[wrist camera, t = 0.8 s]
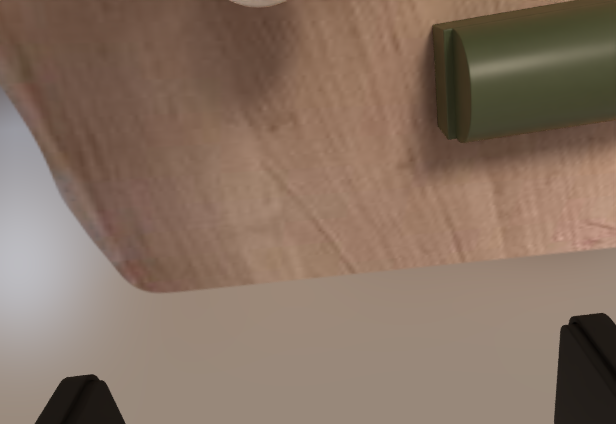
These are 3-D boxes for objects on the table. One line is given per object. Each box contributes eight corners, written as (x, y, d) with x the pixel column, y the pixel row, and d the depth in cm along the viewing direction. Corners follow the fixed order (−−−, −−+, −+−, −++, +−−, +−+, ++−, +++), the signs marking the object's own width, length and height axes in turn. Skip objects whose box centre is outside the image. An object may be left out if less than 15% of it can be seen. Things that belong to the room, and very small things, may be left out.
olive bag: (432, 24, 31) (459, 37, 25) (689, -20, 29) (784, -18, 23) (437, 126, 33) (463, 160, 28) (672, 90, 32) (752, 117, 26)
